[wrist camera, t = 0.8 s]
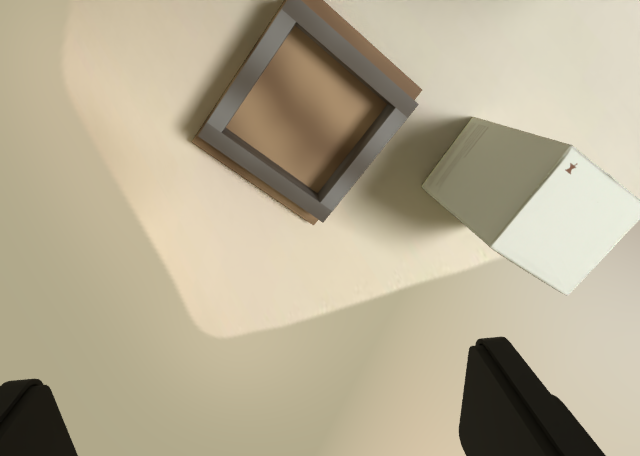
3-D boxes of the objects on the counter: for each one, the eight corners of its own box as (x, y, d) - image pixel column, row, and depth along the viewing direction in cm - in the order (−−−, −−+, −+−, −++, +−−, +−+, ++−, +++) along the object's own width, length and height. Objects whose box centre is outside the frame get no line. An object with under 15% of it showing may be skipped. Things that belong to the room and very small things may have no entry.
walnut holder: (298, -19, 29) (300, -30, 25) (418, 89, 32) (433, 92, 29) (194, 139, 32) (184, 148, 29) (312, 221, 36) (316, 236, 32)
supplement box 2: (418, 186, 35) (485, 246, 24) (472, 113, 33) (575, 140, 22) (478, 226, 37) (567, 300, 26) (533, 160, 35) (657, 207, 24)
